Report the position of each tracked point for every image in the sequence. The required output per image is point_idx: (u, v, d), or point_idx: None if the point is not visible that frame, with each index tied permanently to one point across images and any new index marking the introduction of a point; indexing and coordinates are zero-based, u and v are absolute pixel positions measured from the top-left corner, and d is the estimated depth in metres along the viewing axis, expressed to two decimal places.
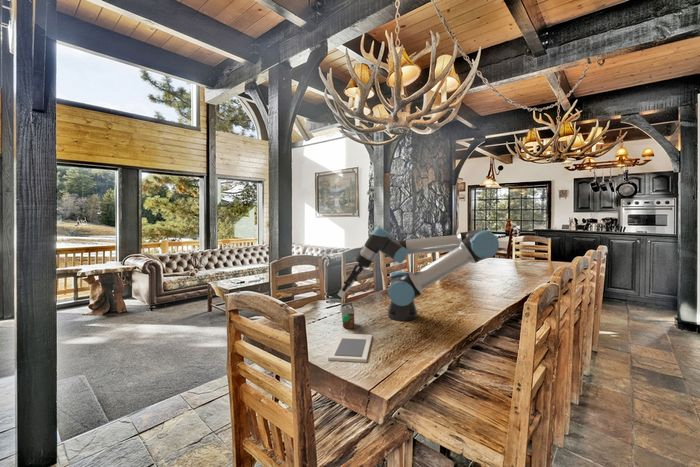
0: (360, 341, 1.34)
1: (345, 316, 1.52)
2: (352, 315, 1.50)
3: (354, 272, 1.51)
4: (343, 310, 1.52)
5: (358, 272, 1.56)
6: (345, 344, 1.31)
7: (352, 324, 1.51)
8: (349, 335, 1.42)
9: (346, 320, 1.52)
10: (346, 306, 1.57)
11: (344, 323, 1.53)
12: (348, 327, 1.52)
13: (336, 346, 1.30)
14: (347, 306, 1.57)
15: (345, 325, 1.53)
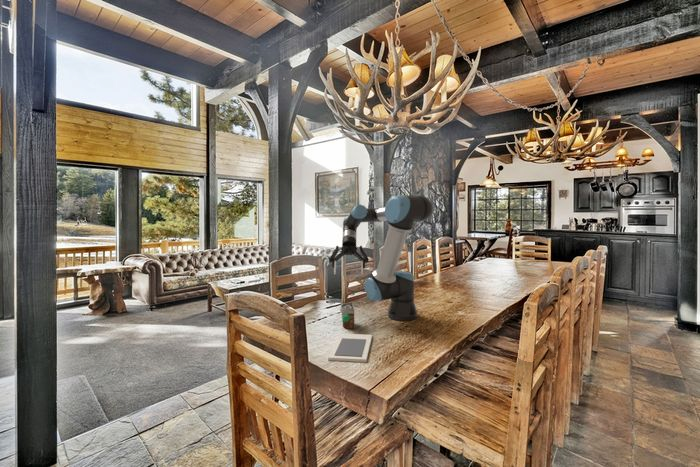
0: (360, 341, 1.34)
1: (345, 316, 1.52)
2: (352, 315, 1.50)
3: None
4: (343, 310, 1.52)
5: None
6: (345, 344, 1.31)
7: (352, 324, 1.51)
8: (349, 335, 1.42)
9: (346, 320, 1.52)
10: (346, 306, 1.57)
11: (344, 323, 1.53)
12: (348, 327, 1.52)
13: (336, 346, 1.30)
14: (347, 306, 1.57)
15: (345, 325, 1.53)
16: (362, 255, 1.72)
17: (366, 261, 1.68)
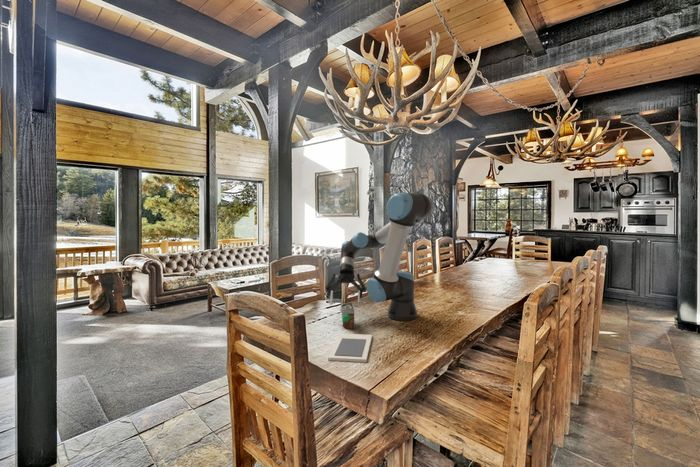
0: (360, 341, 1.34)
1: (345, 316, 1.52)
2: (352, 315, 1.50)
3: None
4: (343, 310, 1.52)
5: None
6: (345, 344, 1.31)
7: (352, 324, 1.51)
8: (349, 335, 1.42)
9: (346, 320, 1.52)
10: (346, 306, 1.57)
11: (344, 323, 1.53)
12: (348, 327, 1.52)
13: (336, 346, 1.30)
14: (347, 306, 1.57)
15: (345, 325, 1.53)
16: None
17: (363, 290, 1.64)
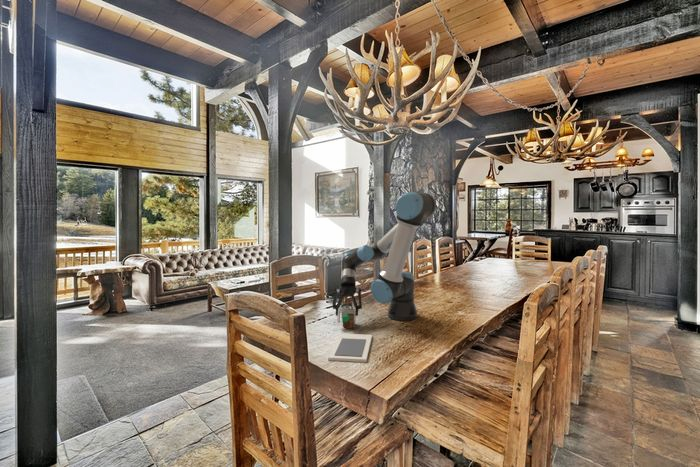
0: (360, 341, 1.34)
1: (345, 316, 1.52)
2: (352, 315, 1.50)
3: None
4: (343, 310, 1.52)
5: None
6: (345, 344, 1.31)
7: (352, 324, 1.51)
8: (349, 335, 1.42)
9: (346, 320, 1.52)
10: (346, 306, 1.57)
11: (344, 323, 1.53)
12: (348, 327, 1.52)
13: (336, 346, 1.30)
14: (347, 306, 1.57)
15: (345, 325, 1.53)
16: None
17: (359, 308, 1.56)
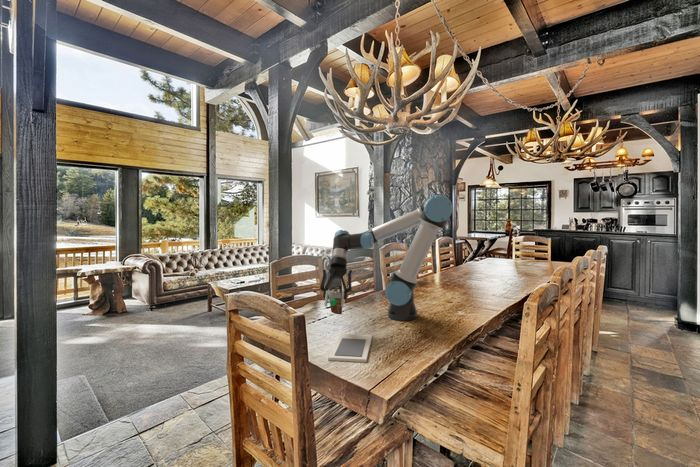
0: (360, 341, 1.34)
1: (332, 300, 1.43)
2: (339, 299, 1.41)
3: None
4: (330, 294, 1.42)
5: None
6: (345, 344, 1.31)
7: (340, 309, 1.42)
8: (349, 335, 1.42)
9: (333, 304, 1.43)
10: (334, 289, 1.47)
11: (331, 307, 1.45)
12: (335, 311, 1.43)
13: (336, 346, 1.30)
14: (335, 289, 1.47)
15: (332, 309, 1.44)
16: None
17: (348, 291, 1.46)
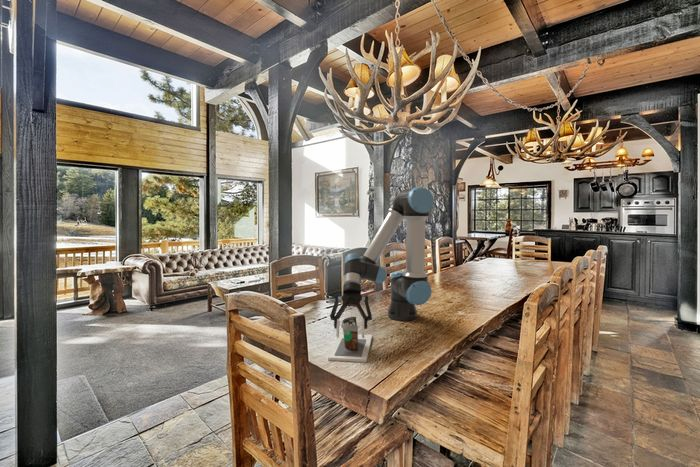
0: (360, 341, 1.34)
1: (347, 334, 1.25)
2: (355, 333, 1.24)
3: None
4: (344, 327, 1.25)
5: None
6: None
7: (356, 345, 1.25)
8: None
9: (348, 339, 1.25)
10: (349, 321, 1.30)
11: (346, 342, 1.27)
12: (350, 347, 1.25)
13: (336, 346, 1.30)
14: (350, 321, 1.30)
15: (347, 345, 1.26)
16: (366, 309, 1.34)
17: (369, 319, 1.30)
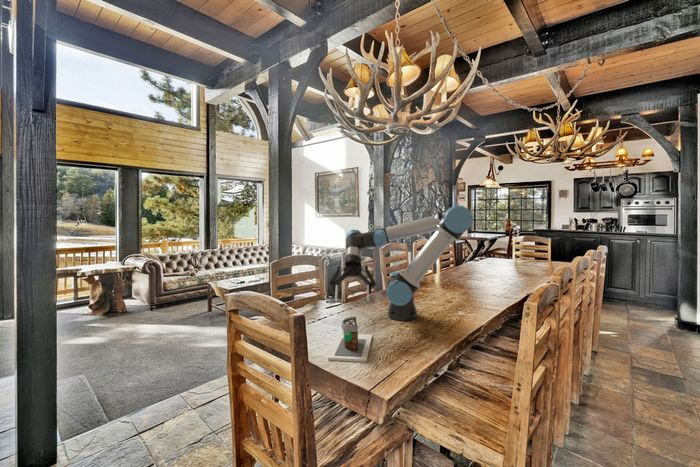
0: (360, 341, 1.34)
1: (347, 334, 1.25)
2: (355, 334, 1.24)
3: None
4: (344, 327, 1.25)
5: None
6: None
7: (356, 345, 1.24)
8: None
9: (348, 339, 1.25)
10: (349, 322, 1.30)
11: (346, 343, 1.27)
12: (350, 348, 1.25)
13: (336, 346, 1.30)
14: (350, 322, 1.30)
15: (347, 345, 1.26)
16: (368, 277, 1.47)
17: (373, 285, 1.44)
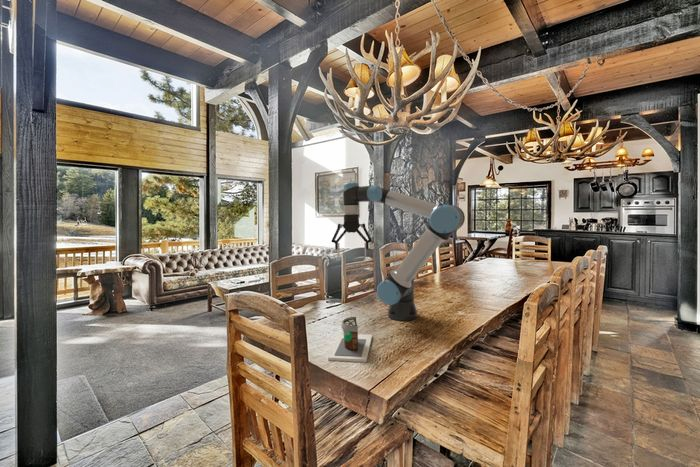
0: (360, 341, 1.34)
1: (347, 334, 1.25)
2: (355, 334, 1.24)
3: None
4: (344, 327, 1.25)
5: None
6: None
7: (356, 345, 1.24)
8: None
9: (348, 339, 1.25)
10: (349, 322, 1.30)
11: (346, 343, 1.27)
12: (350, 348, 1.25)
13: (336, 346, 1.30)
14: (350, 322, 1.30)
15: (347, 345, 1.26)
16: None
17: None
